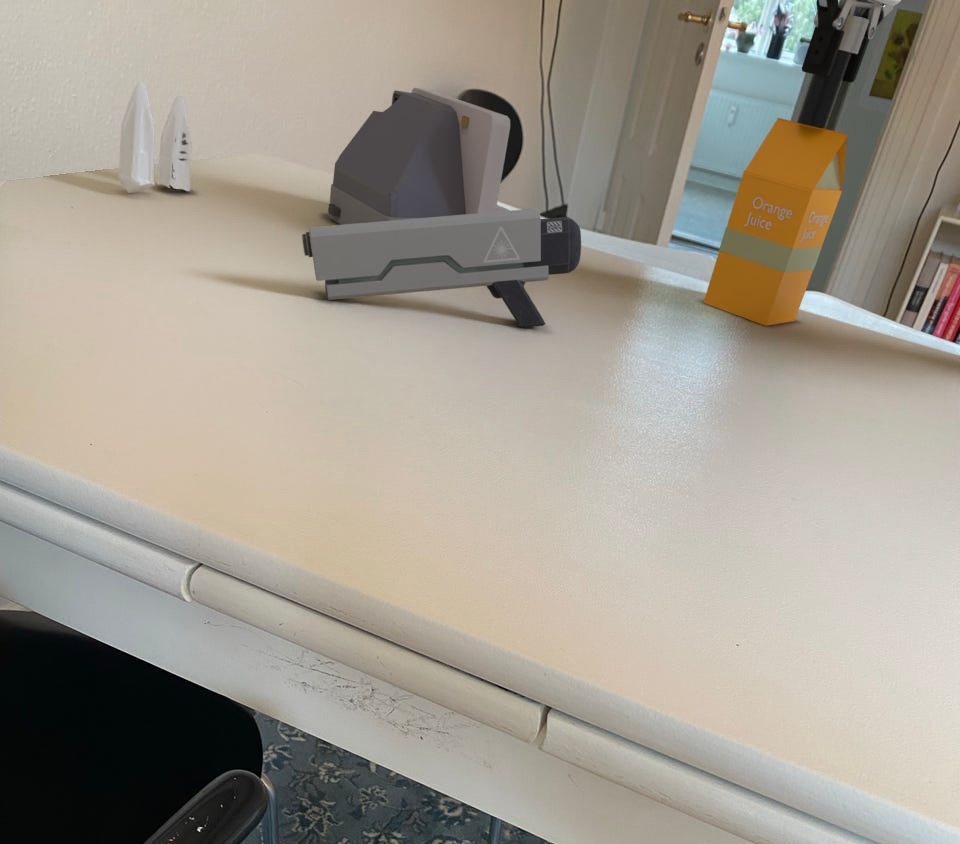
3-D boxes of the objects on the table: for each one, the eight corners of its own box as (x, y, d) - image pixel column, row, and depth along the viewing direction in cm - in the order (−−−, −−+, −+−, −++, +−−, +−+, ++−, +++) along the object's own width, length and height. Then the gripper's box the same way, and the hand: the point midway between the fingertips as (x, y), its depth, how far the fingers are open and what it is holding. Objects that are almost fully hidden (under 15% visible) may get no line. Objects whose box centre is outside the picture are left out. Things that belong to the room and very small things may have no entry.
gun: (582, 323, 86) (584, 209, 81) (318, 348, 84) (301, 233, 78) (576, 315, 88) (578, 204, 83) (318, 339, 86) (301, 227, 80)
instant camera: (531, 270, 107) (559, 127, 99) (363, 254, 99) (378, 97, 90) (465, 225, 123) (485, 98, 114) (315, 208, 114) (324, 70, 106)
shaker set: (136, 201, 100) (132, 86, 94) (105, 192, 101) (99, 77, 95) (202, 192, 110) (202, 87, 104) (173, 184, 111) (171, 80, 105)
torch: (804, 123, 101) (840, 16, 96) (838, 131, 99) (877, 22, 93) (783, 119, 98) (818, 9, 93) (817, 128, 96) (856, 15, 90)
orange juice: (765, 326, 105) (833, 132, 94) (702, 302, 109) (759, 114, 98) (795, 320, 110) (863, 136, 99) (734, 298, 115) (792, 119, 103)
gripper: (897, -171, 79) (816, 73, 89) (977, -121, 89) (896, 93, 99) (823, -173, 83) (754, 60, 93) (908, -125, 93) (837, 80, 103)
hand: (828, 75), depth 96 cm, fingers closed on torch, 4 cm apart
